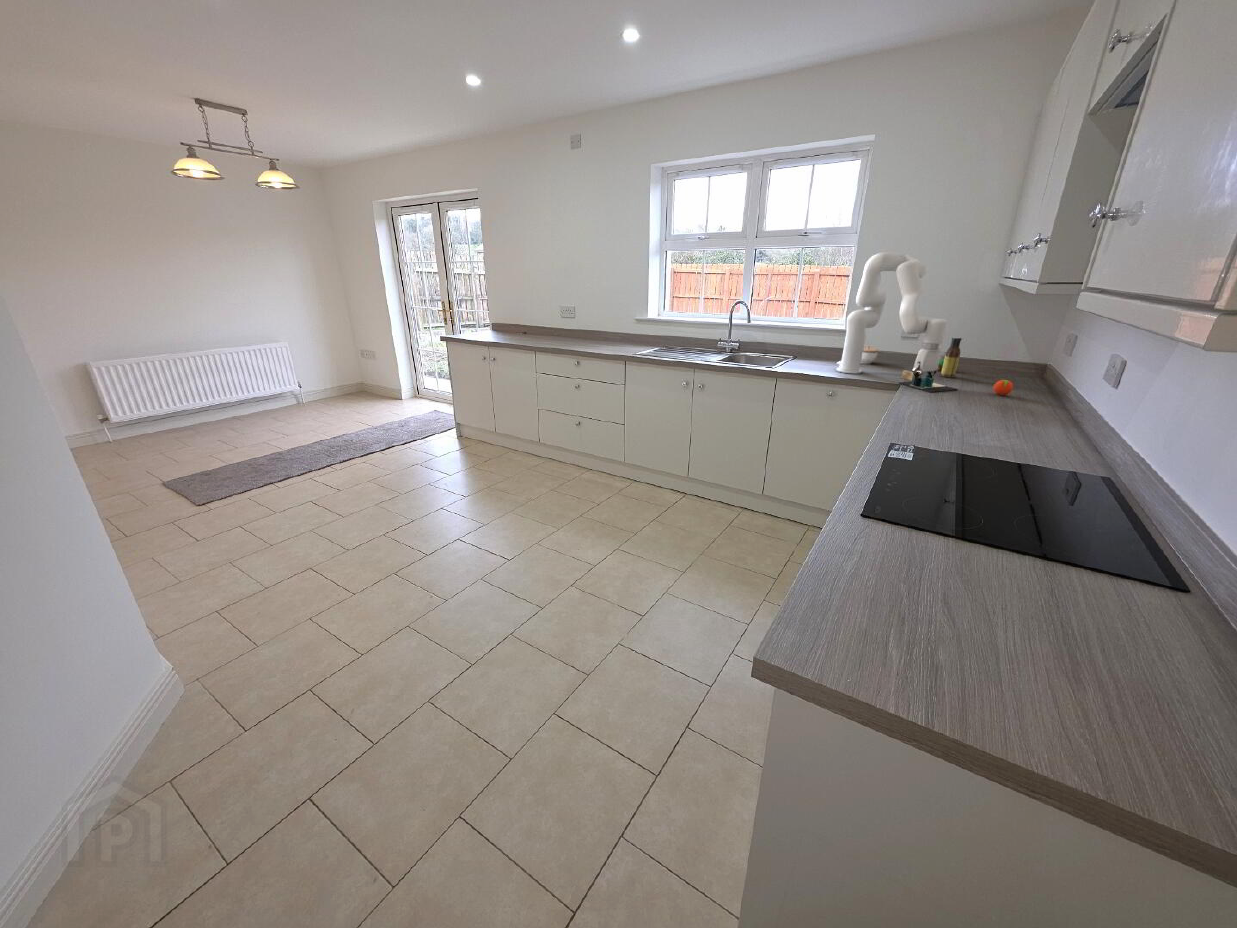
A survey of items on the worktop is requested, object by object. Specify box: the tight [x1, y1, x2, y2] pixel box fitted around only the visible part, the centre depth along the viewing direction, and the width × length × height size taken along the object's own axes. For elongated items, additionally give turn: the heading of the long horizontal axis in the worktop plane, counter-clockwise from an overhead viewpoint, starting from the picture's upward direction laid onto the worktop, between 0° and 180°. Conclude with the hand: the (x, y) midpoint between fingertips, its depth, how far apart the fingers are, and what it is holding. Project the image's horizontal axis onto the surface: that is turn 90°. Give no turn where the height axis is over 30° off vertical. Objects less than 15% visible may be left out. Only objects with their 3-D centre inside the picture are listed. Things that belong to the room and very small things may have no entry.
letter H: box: [911, 375, 935, 388], centre depth 228 cm, size 6×6×4 cm
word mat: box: [898, 381, 958, 394], centre depth 230 cm, size 18×16×1 cm
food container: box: [937, 351, 947, 372], centre depth 262 cm, size 12×6×10 cm, turn 25°
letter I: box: [901, 369, 914, 382], centre depth 243 cm, size 6×2×4 cm, turn 18°
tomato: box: [992, 379, 1014, 396], centre depth 215 cm, size 8×7×7 cm
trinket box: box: [860, 345, 879, 365], centre depth 280 cm, size 11×11×9 cm
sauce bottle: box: [940, 336, 962, 379], centre depth 246 cm, size 7×6×20 cm
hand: (921, 384), depth 229 cm, fingers closed on letter H, 6 cm apart
